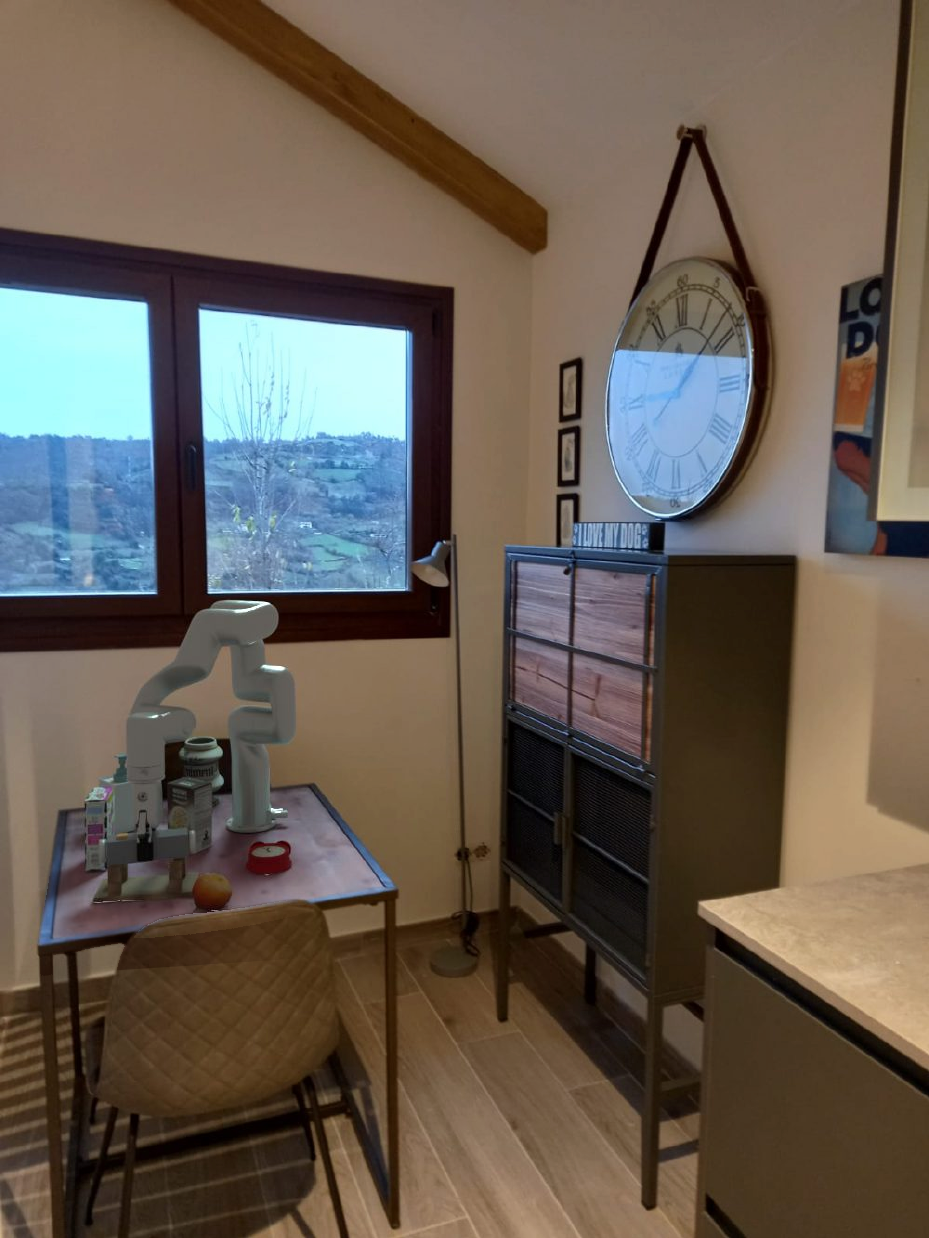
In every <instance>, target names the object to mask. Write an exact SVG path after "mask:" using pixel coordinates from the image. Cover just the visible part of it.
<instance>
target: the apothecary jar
mask: <svg viewBox="0 0 929 1238" xmlns="http://www.w3.org/2000/svg"><path fill="white" fill-rule="evenodd" d="M222 757H223V749H222V748H221V747H220V746H219V745H218V743H217V739H216V738H215V737H213V736H194V737H191V738H190V737H189V738H187V739H185V740H184V745H183V747H182V748H181V750H180V751H179V752H178V758H179V760H180V761H181V762H182V765H183V767H182V768H183V769H182V771H183V772H182V773H183V774H182V775H183V776H182V777H181V778H183V777H190V778H194V779H198V780H202V781H207V782H211V783H212V794H213V793H216V792H217V791H218V790H220V789H221V788H222V787H223V785H224V777H223V776H222V775H221V774H220V770H219V760H220V759H221V758H222ZM219 800H220V799H219V798H218V797H217V796H215V795H212V807H213V806H215V804H216V805H218V804H219V803H220V801H219ZM218 802H219V803H218Z"/></svg>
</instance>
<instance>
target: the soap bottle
mask: <svg viewBox="0 0 929 1238" xmlns="http://www.w3.org/2000/svg"><path fill="white" fill-rule="evenodd" d="M113 757H114V758H118V759H117V760H118V761H117V762H118V764H119V766H118V767H117V768H116V769H115V771H116V772H115V773H113V775H109V776H105V777H99V779H98V785H99V786H98V787H115V835H117V834H122V833H128V832H129V833H130V832H132V831H136V830H135V829H134V828H133V814H132V784H133V783H131V782H128V781H127V766H126V765H125V764H127V756H126V753H123V754H118V755H113Z"/></svg>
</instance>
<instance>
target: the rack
mask: <svg viewBox="0 0 929 1238" xmlns="http://www.w3.org/2000/svg"><path fill="white" fill-rule="evenodd" d="M172 860H173V861H169V863H168V874H161V875H143V876H131V877H130V876H129V864H122V865H113V866H108V868H107V870H106V871H107V873H106V874H107V878H103V879H102V880H101V882H100V884H99V885H98V887H97V890H96V892H95V894H94V896H93V898H92V901H93V902H103V901H118V900H120V901H122V900H143V901H152V900H153V901H155V900H156V901H157V900H168V899H171V900H172V899H185V898H193V895H192V889H193V886H194V884H195V882H196V880H197V879H198V878H199V877H200V876H201V875H200V873H201V872H188V873H187V858H178V859H172ZM93 902H92V903H93Z"/></svg>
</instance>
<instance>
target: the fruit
mask: <svg viewBox="0 0 929 1238" xmlns="http://www.w3.org/2000/svg"><path fill="white" fill-rule="evenodd" d="M192 895H193V897H192V898H193V903H194V904H193V905H194V907H195V908H194V910H192V912H193V913H195V912H196V911H198V910H202V911H203V912H212V911H211V910H220V911H221V910H223V909H224V908H225V907H226V906H227V904H228V903H229V902H230V900H232V899H231V898H232V897H233V889H232V887H231V884H230V882H229V880H228V879H227V878H226V877H225V876H223V875H221V874H219V873H216V872H213V873H212V872H205V873H203V874H201V875H200V877H199V878H198V879H197V880H196V882H195V884H194V886H193V889H192Z"/></svg>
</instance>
